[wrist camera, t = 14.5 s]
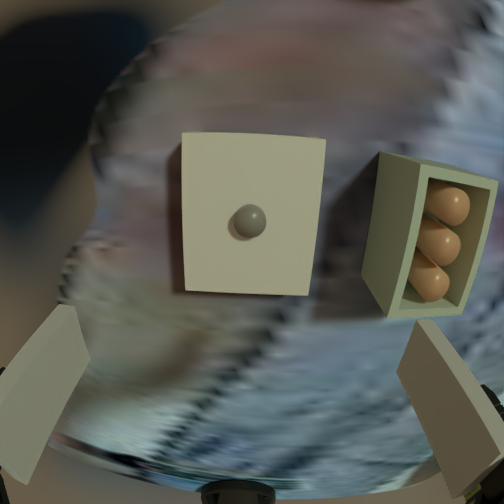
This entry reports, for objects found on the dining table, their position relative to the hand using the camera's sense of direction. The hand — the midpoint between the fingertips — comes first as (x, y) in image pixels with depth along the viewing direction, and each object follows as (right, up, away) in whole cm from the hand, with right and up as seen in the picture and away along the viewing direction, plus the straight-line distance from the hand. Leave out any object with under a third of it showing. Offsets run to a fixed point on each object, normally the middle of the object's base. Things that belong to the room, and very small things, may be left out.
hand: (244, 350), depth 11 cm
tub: (+15, +7, +16) cm, 23 cm away
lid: (0, +6, +14) cm, 16 cm away
